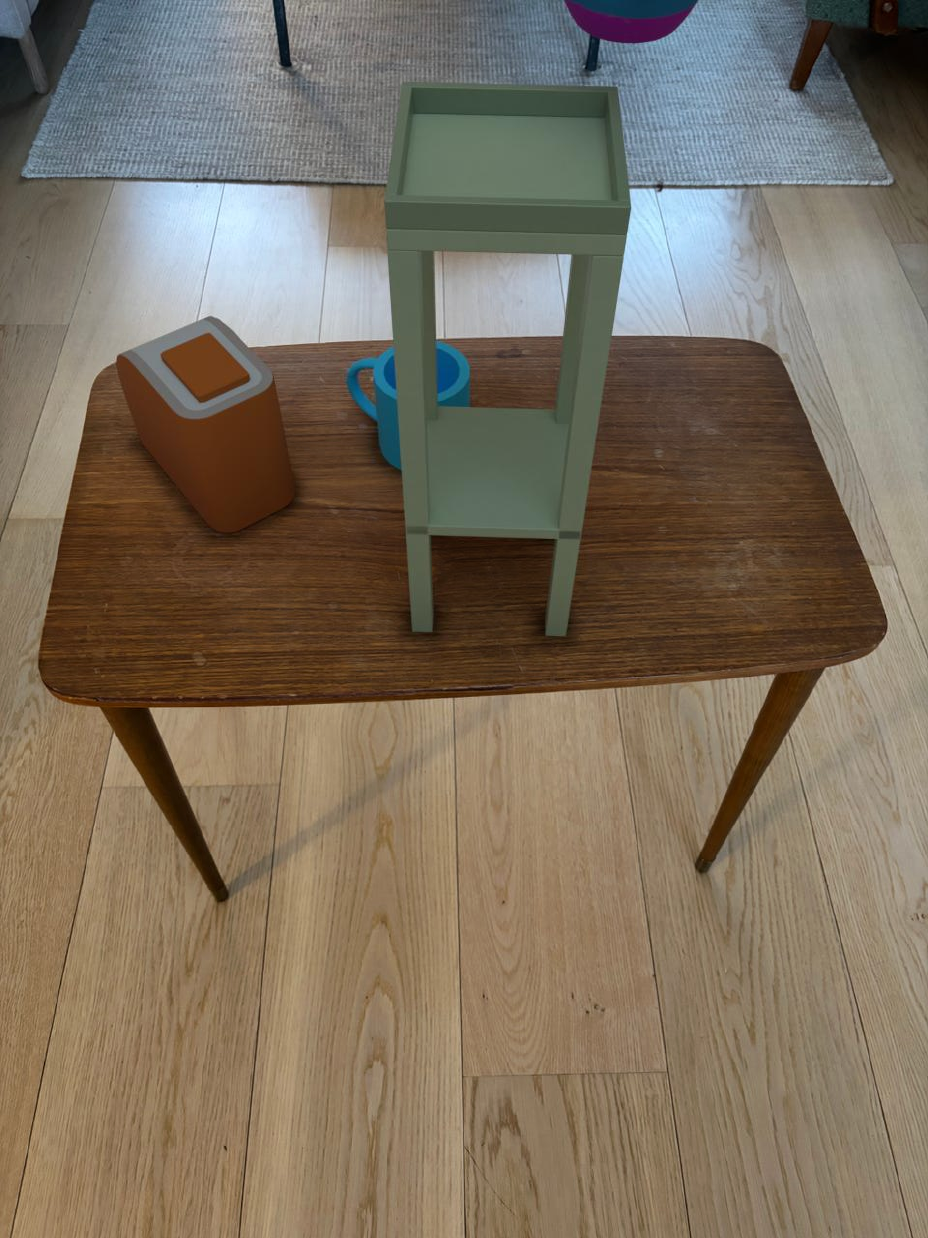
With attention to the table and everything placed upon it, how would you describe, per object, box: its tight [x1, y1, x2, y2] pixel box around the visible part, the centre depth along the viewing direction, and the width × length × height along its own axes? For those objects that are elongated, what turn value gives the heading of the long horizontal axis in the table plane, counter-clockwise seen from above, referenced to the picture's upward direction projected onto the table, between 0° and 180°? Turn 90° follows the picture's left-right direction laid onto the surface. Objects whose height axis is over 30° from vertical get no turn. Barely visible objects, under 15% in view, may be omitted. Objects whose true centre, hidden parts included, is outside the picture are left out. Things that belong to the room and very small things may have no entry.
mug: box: [345, 340, 471, 471], centre depth 87 cm, size 12×8×8 cm
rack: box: [383, 81, 632, 637], centre depth 66 cm, size 12×12×36 cm
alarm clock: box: [115, 315, 296, 534], centre depth 82 cm, size 15×8×14 cm, turn 37°
